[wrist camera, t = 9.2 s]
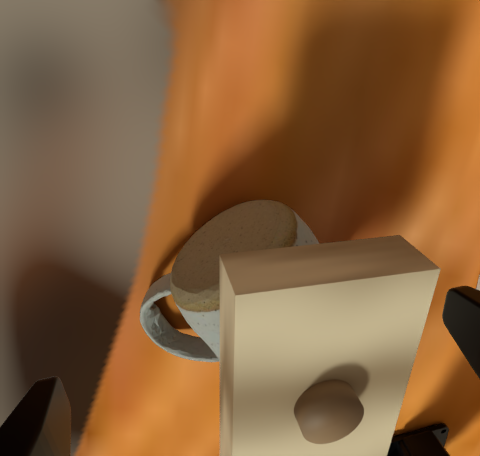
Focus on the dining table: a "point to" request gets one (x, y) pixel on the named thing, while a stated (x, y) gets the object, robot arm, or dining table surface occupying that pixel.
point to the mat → (479, 285)
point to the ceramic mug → (215, 273)
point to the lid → (319, 345)
